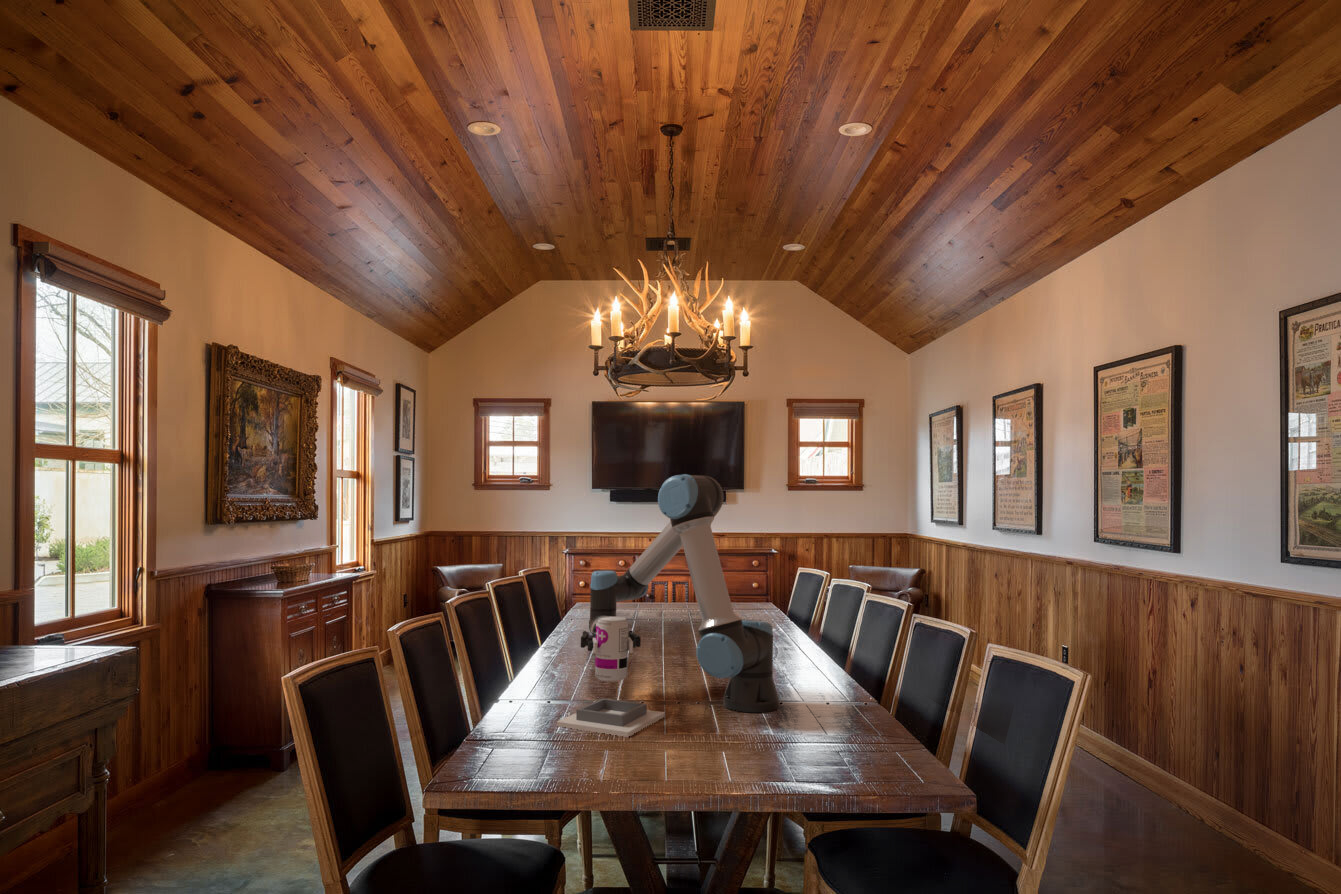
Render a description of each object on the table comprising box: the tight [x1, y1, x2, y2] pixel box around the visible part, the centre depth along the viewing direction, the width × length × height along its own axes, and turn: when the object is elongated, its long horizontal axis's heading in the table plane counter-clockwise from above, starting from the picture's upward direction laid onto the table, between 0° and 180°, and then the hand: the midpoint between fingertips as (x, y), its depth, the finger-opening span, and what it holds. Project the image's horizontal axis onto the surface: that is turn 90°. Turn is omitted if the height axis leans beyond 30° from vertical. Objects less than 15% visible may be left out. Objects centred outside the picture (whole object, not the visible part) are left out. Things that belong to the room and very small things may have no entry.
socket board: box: [556, 697, 666, 738], centre depth 209 cm, size 20×20×4 cm
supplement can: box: [594, 615, 629, 682], centre depth 210 cm, size 8×8×15 cm
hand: (613, 647), depth 205 cm, fingers closed on supplement can, 8 cm apart
